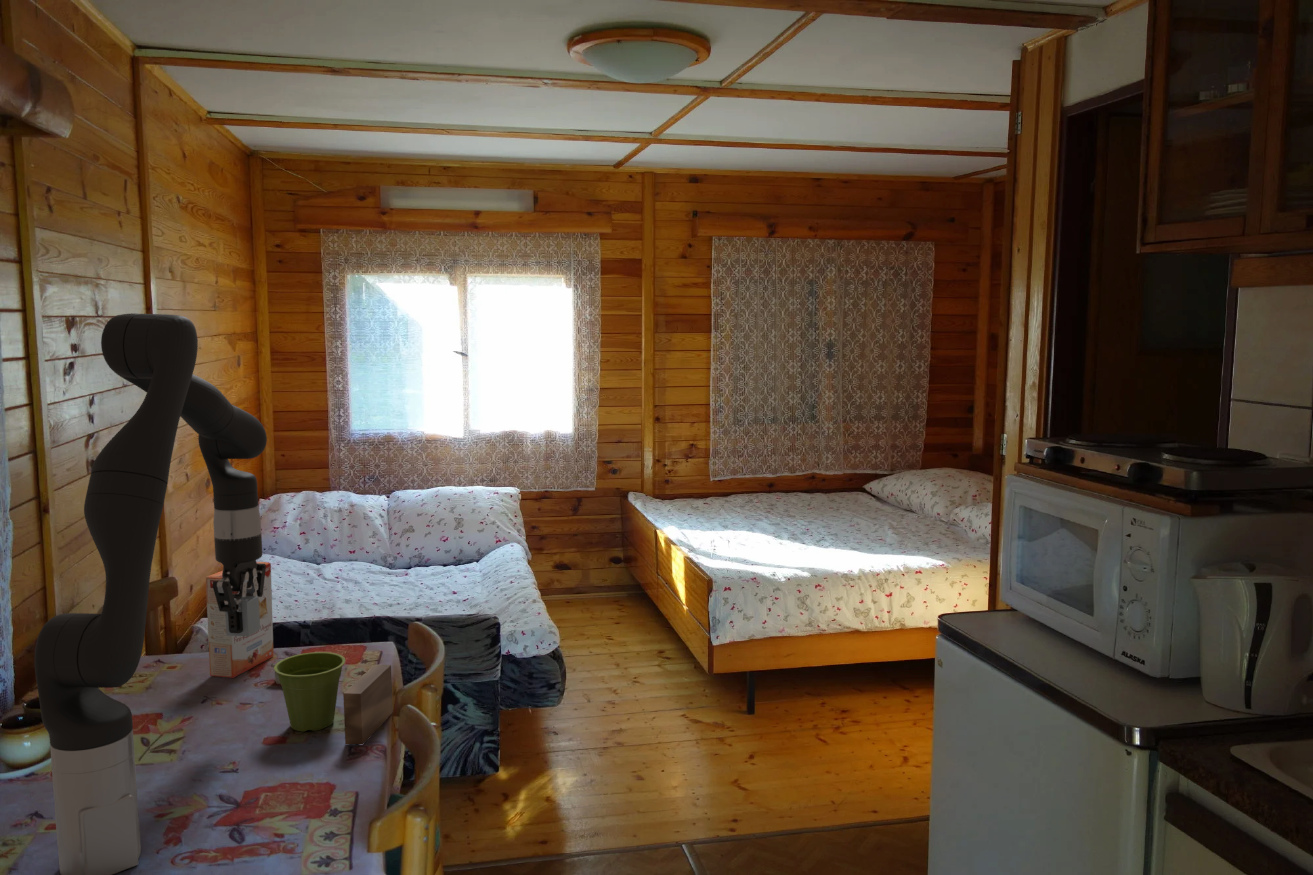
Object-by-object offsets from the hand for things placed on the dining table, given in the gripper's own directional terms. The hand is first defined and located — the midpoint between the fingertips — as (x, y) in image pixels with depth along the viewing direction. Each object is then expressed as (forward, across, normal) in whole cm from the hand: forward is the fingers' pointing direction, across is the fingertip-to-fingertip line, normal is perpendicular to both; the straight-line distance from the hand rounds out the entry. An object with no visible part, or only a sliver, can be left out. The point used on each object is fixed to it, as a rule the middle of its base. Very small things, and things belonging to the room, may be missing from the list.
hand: (243, 627), depth 166 cm
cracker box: (+18, +28, +16) cm, 37 cm away
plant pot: (+18, +1, -12) cm, 21 cm away
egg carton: (+18, +22, 0) cm, 28 cm away
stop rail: (+18, 0, -22) cm, 28 cm away
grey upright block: (+1, 0, 0) cm, 1 cm away
